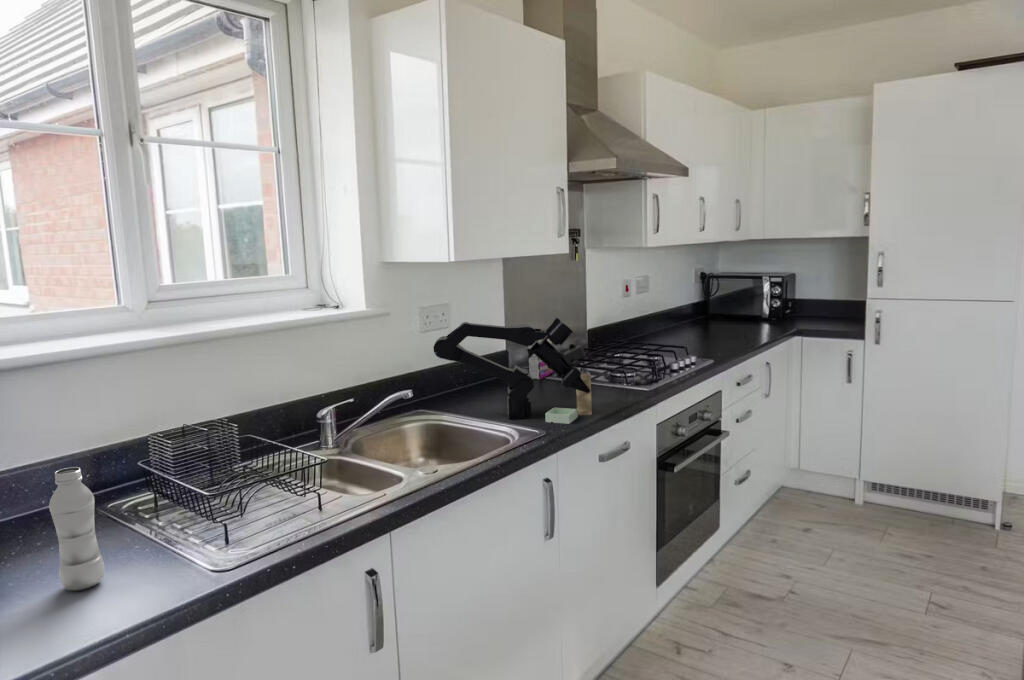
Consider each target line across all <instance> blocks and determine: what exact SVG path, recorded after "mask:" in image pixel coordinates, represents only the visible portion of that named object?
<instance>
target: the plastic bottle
mask: <svg viewBox="0 0 1024 680" xmlns="http://www.w3.org/2000/svg"><path fill="white" fill-rule="evenodd" d="M54 478H55V480H54V484H55V485H56V486H57V487H56V489H55V491H54V492H53V493H52V496H51V498H50V499H49V504H48V507H49V512H50V517H52V521H53V525H54V527H55V531H56V536H57V540H58V546H59V547H58V548H59V549H58V550H59V566H58V567H59V568H58V572H59V574H58V576H59V581H60V583H61V585H62V587H63V588H65V589H66V590H68V591H73V592H74V591H75V592H76V591H81V590H86V589H90V588H91V587H94V586H96V585H97V584H99V583H100V582H101V581H102V579H103V577H104V576H105V563H104V559H103V557H102V554H101V552H100V548H99V545H98V540H97V536H96V526H95V523H96V522H95V496H94V494H93V492H92V491H91V489H90V488H89V487H87V485H85V484H84V483H83V482H82V480H83V475H82V470H81V467H78V466H71V467H66V468H60V469H59V470H56V471H55V472H54Z"/></svg>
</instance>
